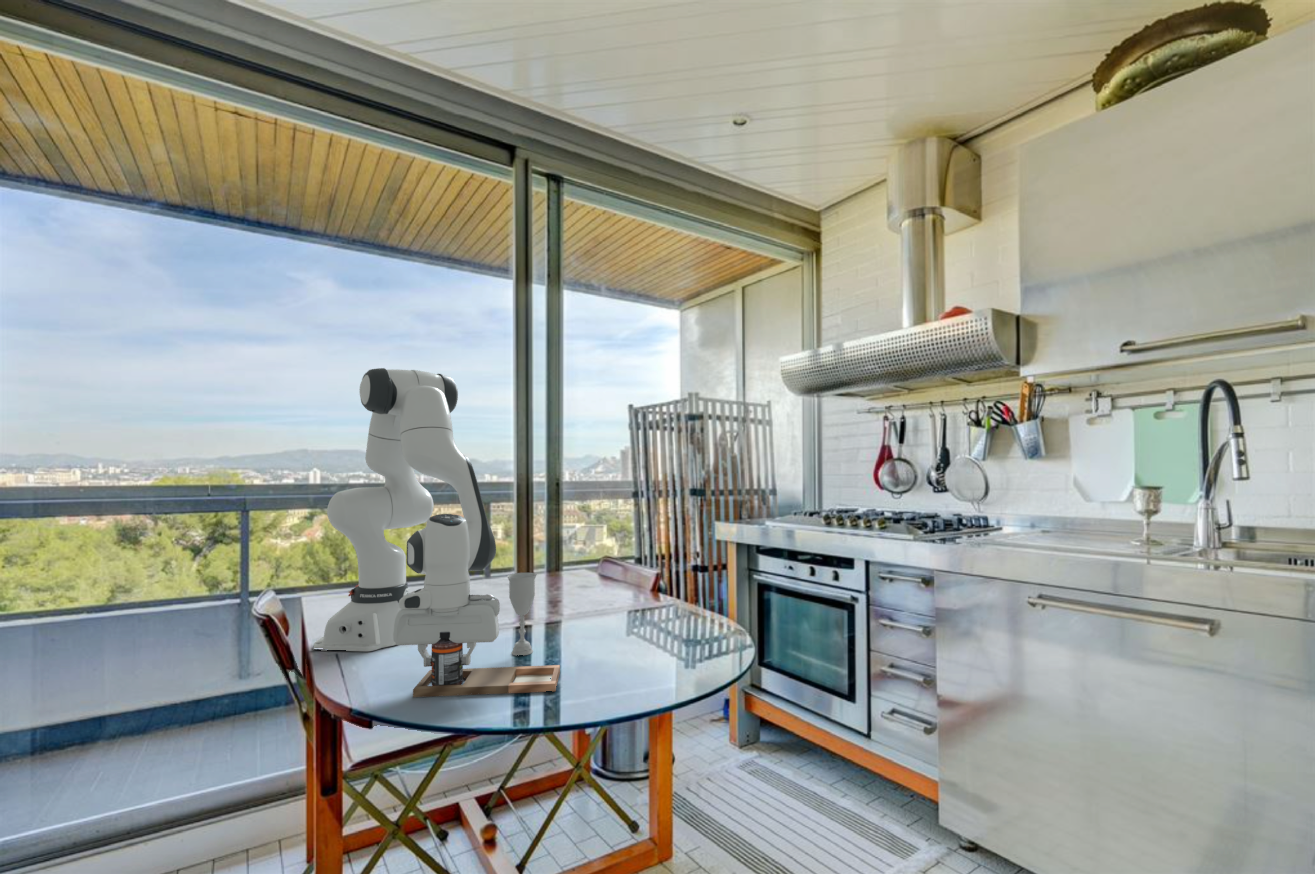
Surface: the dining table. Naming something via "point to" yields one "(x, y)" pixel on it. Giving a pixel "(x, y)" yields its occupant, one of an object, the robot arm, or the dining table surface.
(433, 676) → the supplement bottle
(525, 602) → the chalice
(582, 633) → the dining table surface
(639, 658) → the dining table surface
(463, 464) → the robot arm
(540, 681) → the wooden compartment tray
